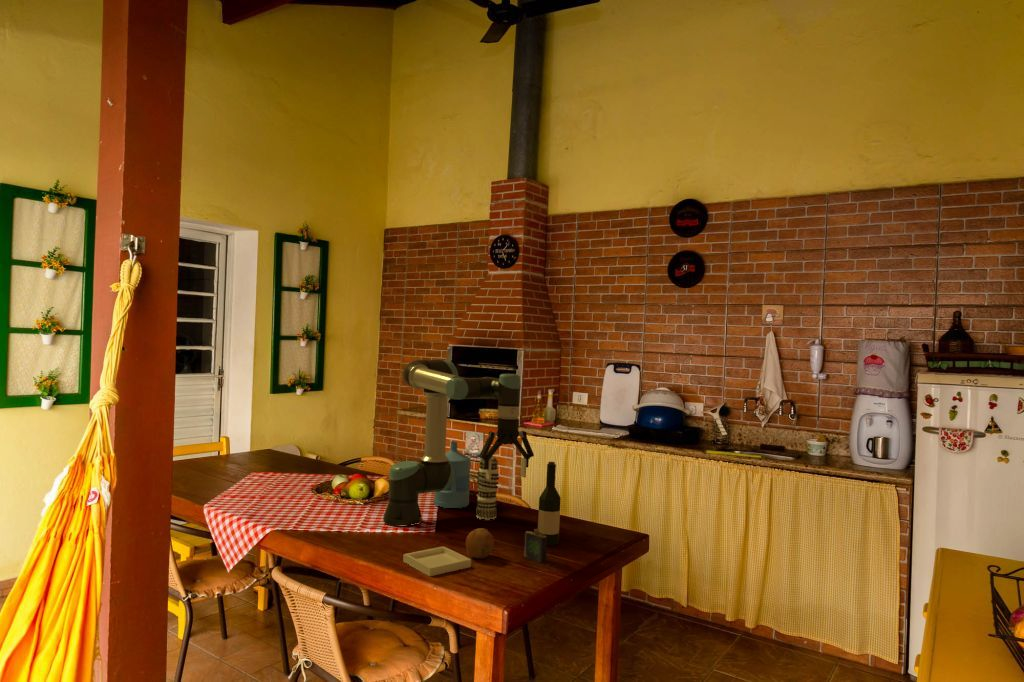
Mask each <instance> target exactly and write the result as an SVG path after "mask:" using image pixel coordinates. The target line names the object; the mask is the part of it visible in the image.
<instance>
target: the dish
mask: <svg viewBox="0 0 1024 682" xmlns="http://www.w3.org/2000/svg"><path fill="white" fill-rule="evenodd" d="M402 558H403V559H402V560H403V561H402V562H403V563H405V564H406V563H407V564H406V565H408V564H409V566H410V567H412V568H414V569H416V570H417V571H419V572H421V573H422V574H424V575H427V576H428V577H432V576H433V577H434V576H437V575H441V574H446V572H447V573H450V572H455V571H459V569H460V570H463V569H467V568H472V559H471V558H469V557H467V556H465V555H463V554H460V553H459V552H457V551H455V550H452V549H450V548H448V547H446V546H444V545H443V546H438V547H433V548H429V549H428V548H427V549H423V550H418V551H413V552H409V553H404V554H403V557H402Z"/></svg>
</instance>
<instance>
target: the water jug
mask: <svg viewBox="0 0 1024 682" xmlns="http://www.w3.org/2000/svg"><path fill="white" fill-rule="evenodd" d="M458 443H459V441H457V440H456V441H455V440H451V441H450V445H449V447H450V449H449V451H445V455H446V456H447V458H448V459H449V463H451V464H452V466H453V469H454V479H453V482H452V484H451V486H450V487H449V488H448V489H447V490H443V491H440V492H433V494H434V498H433V504H434V505H435V504H436V505H438V506H440V507H443V508H442V509H446V508H459V509H464V508H466V507H468V505H470V486H471V478H470V477H471V467H472V466H471V465H472V464H471V458H470V456H467V455H466V454H464V453H462V452H460V451H458ZM436 505H435V506H436ZM440 507H439V508H440ZM463 507H464V508H463Z"/></svg>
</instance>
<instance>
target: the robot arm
mask: <svg viewBox="0 0 1024 682" xmlns="http://www.w3.org/2000/svg"><path fill="white" fill-rule="evenodd" d="M402 379H403V381H404V383H405V384H406V385H407V386H409V387H410V388H413V389H417V390H421V389H423V394H424V395H425V396H426V406H425V407H426V408H425V411H426V412H425V431H424V451H423V452H424V454H423V456H421V457H420V462H419V461H416V460H409V461H408V460H405V461H399V462H397V463H394V464H392V466H391V467H390V469H389V476H388V481H389V482H388V483H389V484H388V502H387V506H386V508H385V510H384V513H383V516H382V517H383V519H382V522H383V521H384V522H385V523H387V524H390V525H389V526H391V525H411V524H415V523H419V522H420V521H421V522H422V519H423V518H422V512H421V508H420V505H419V495H421V494H428V493H434V492H440V491H443V490H447V489H448V488H449V487H450V486H451V484H452V482H453V479H454V469H453V466H452V464H451V463H449V459H448V458H447V456H446V455H445V453H446V452H447V451H446V446H447V427H448V426H447V424H448V421H447V420H448V403H449V402H448V400H449V399H451V400H459V401H460V400H473V399H475V400H477V399H478V400H479V399H480V400H481V399H493V400H494V399H495V400H498V403H497V417H498V418H497V425H496V426H497V430H496V432H495V431H491V430H490V431H489V432H488V435H487V439H486V440H485V443H484V446H483V447H482V449H481V451H480V453H479V455H478V456H479V457H478V458H480V459H484V469H486V478H487V479H491V463H492V461H491V460H490V458H491V457H494V454H495V453H496V452H497V451H498V450H499V448H500V447H501V446H503V445H514V446H515V448H516V449H517V450H518V452H519V453H520V454H521V455H522V457H521V459H520V461H521V463H520V477H522V478H526V477H527V468H529V460H530V459H531V458H533V457H534V455H535V454H534V451H533V449H532V447H531V444H530V442H529V439H528V437H527V436H528V435H527V431H525V430H519V427H520V426H519V425H520V423H519V422H520V420H519V417H520V404H521V403H520V399H521V376H520V375H519V374H516V373H501V374H500V375H499V378H497V377H492V376H484V377H463V376H460V375H459V372H458V370H457V367H456V366H455V364H454V363H453V362H452V361H450V360H448V359H447V360H444V359H415V360H412V361H411V362H409V363H407V365H406V366H405V367H404V369H403V372H402ZM496 437H497V438H496ZM518 437H520V438H521V441H522V443H523V446H524V447H523V446H522V445H521V443H520V441H519V440H518ZM495 438H496V440H495V442H494V439H495ZM493 442H494V443H493ZM492 444H493V445H492ZM384 522H383V523H384ZM385 523H384V524H385ZM387 524H386V525H387Z"/></svg>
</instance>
